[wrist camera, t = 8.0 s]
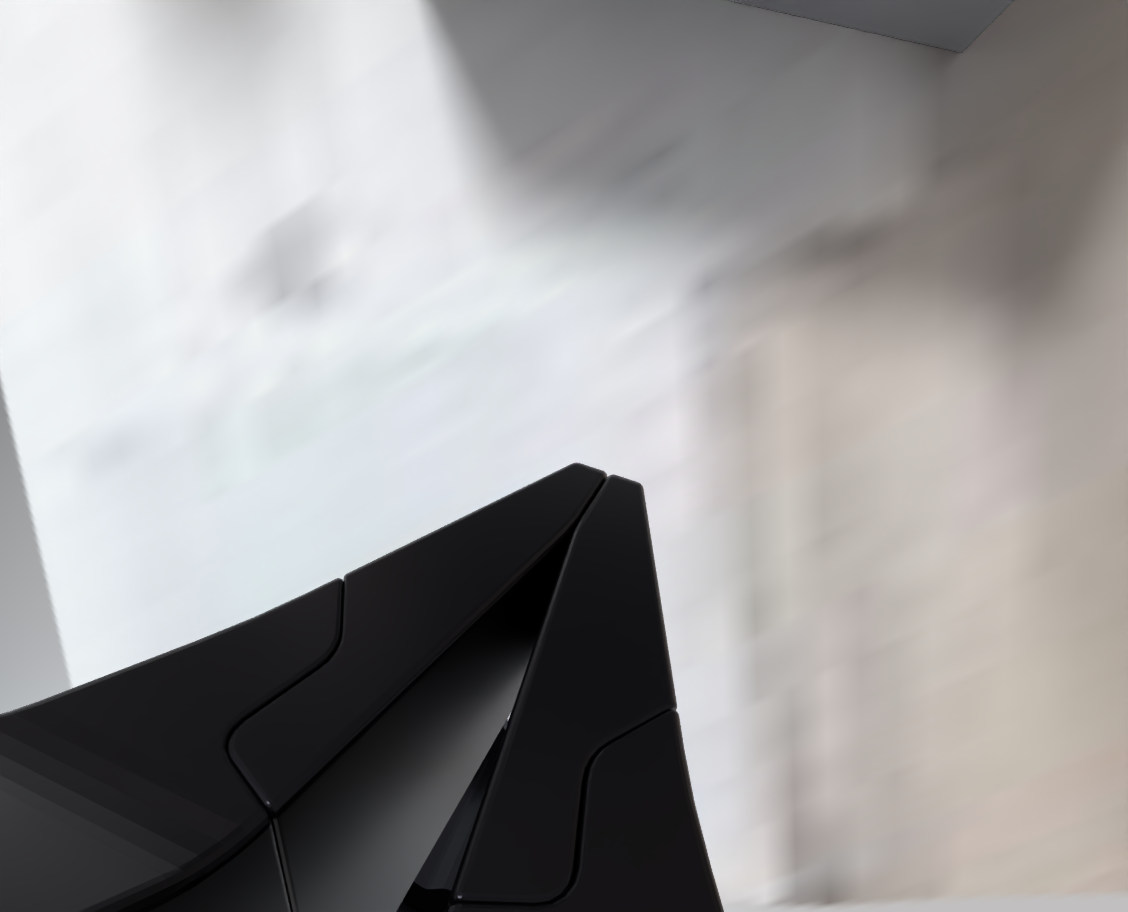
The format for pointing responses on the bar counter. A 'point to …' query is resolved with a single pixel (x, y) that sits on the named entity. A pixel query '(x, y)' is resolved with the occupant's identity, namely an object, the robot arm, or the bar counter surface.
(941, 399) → the bar counter surface
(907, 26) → the switch box
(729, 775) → the bar counter surface
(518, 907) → the robot arm
